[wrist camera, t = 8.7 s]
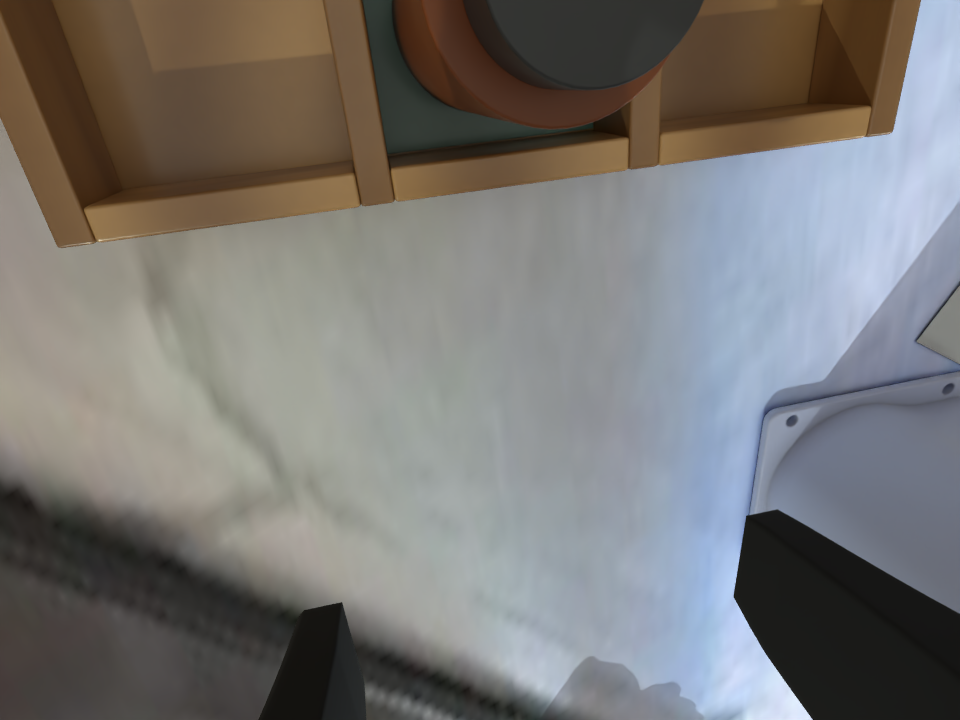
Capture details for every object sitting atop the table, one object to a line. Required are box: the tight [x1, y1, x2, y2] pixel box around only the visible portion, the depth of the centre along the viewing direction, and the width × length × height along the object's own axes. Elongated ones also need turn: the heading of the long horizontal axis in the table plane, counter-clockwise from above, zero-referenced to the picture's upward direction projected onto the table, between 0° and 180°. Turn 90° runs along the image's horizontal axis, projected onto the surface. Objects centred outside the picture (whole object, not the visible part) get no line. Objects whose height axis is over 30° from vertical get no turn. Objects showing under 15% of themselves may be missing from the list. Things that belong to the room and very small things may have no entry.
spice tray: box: [0, 0, 921, 248], centre depth 14 cm, size 21×8×3 cm, turn 96°
